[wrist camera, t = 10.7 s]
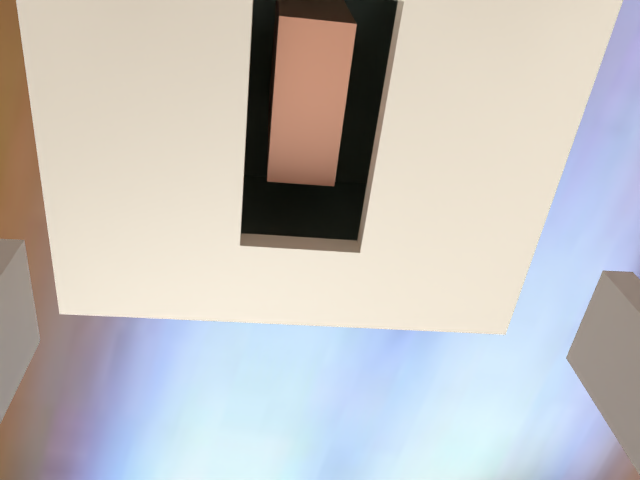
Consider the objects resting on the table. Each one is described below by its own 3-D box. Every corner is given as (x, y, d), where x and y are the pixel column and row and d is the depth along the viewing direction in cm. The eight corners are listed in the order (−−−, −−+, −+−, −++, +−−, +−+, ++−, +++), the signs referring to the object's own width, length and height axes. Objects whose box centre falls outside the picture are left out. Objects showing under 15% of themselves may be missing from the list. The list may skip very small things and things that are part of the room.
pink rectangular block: (268, 106, 35) (267, 181, 27) (277, -24, 31) (279, 15, 23) (319, 110, 35) (334, 186, 27) (334, -18, 32) (356, 23, 23)
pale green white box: (127, 173, 38) (59, 313, 26) (107, -172, 28) (-12, -201, 17) (436, 196, 40) (505, 334, 28) (511, -117, 31) (661, -108, 19)
